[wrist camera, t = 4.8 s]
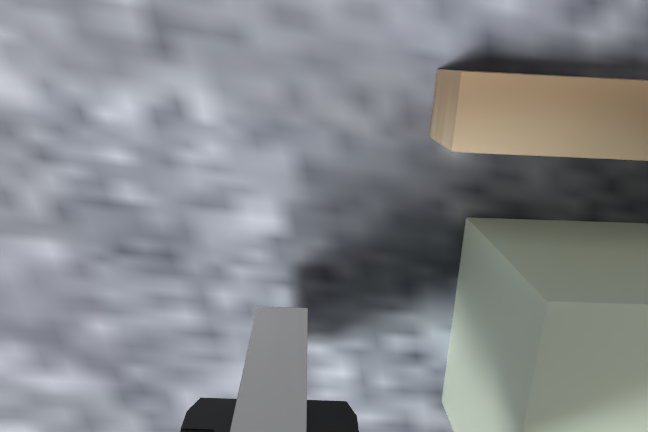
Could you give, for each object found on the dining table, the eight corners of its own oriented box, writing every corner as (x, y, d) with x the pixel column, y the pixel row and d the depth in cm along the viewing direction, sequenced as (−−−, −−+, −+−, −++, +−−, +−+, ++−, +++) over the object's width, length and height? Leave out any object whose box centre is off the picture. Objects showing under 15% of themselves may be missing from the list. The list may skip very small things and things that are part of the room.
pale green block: (464, 216, 16) (547, 301, 11) (675, 223, 17) (864, 310, 11) (441, 398, 19) (499, 551, 13) (628, 402, 19) (767, 554, 13)
